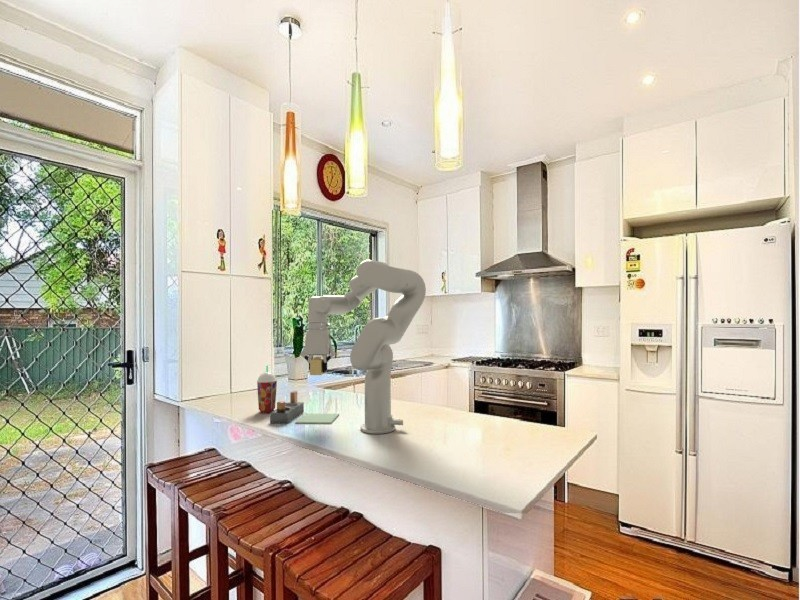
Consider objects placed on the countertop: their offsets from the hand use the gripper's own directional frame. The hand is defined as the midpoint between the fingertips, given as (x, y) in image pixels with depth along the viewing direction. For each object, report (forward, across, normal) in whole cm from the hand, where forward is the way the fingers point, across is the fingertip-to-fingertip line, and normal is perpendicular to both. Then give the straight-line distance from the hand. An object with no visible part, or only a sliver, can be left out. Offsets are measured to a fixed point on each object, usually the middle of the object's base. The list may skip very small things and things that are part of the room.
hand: (318, 371), depth 163 cm
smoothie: (+19, +26, -12) cm, 34 cm away
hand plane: (+19, +14, -3) cm, 23 cm away
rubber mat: (+19, 0, 0) cm, 19 cm away
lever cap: (+1, 0, 0) cm, 1 cm away
